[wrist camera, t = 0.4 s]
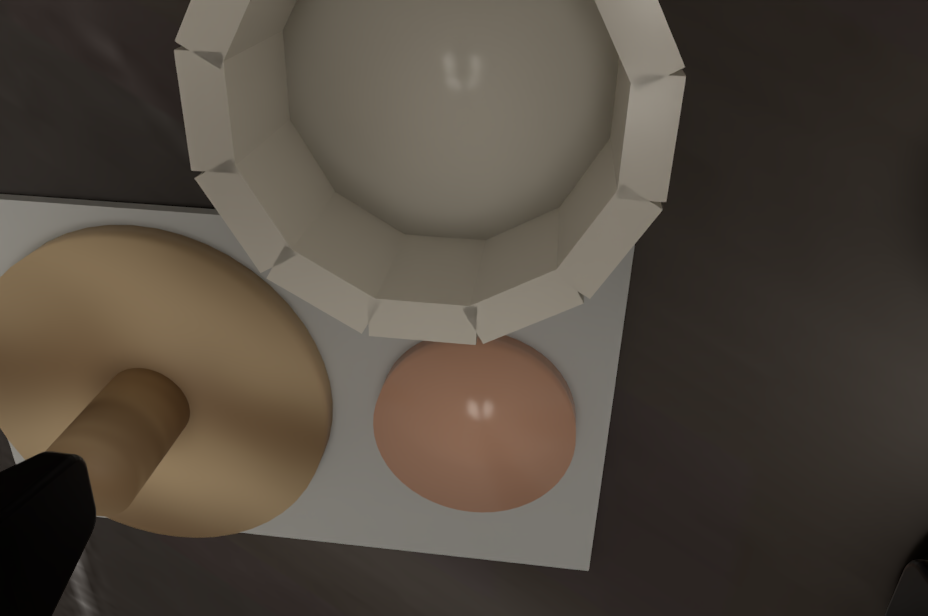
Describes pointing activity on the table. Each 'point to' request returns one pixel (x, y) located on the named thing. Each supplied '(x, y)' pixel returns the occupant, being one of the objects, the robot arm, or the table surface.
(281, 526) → the mat
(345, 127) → the bowl
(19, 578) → the robot arm
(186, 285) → the lid
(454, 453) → the pink glossy dome
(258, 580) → the table surface
